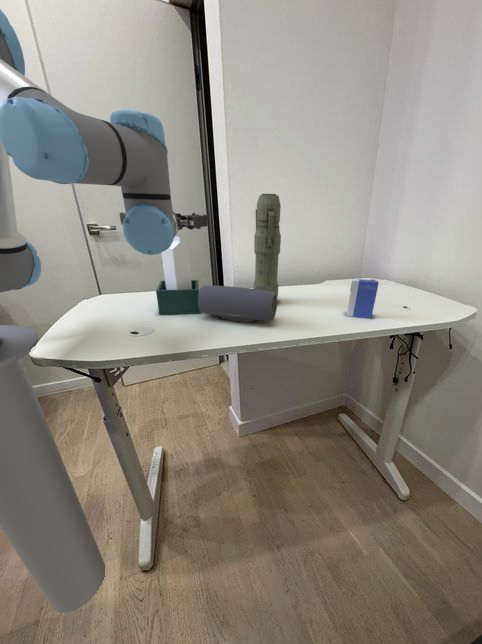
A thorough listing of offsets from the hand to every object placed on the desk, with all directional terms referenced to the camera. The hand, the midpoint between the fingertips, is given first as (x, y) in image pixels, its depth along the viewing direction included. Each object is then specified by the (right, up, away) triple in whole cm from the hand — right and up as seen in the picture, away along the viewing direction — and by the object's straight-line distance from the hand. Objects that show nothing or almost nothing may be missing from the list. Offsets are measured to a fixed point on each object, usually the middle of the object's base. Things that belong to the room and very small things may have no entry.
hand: (168, 217), depth 77 cm
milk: (-3, -20, +21) cm, 29 cm away
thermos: (+26, -18, +30) cm, 43 cm away
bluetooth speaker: (+18, -26, +14) cm, 34 cm away
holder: (-3, -21, +21) cm, 30 cm away
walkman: (+57, -24, +19) cm, 65 cm away
